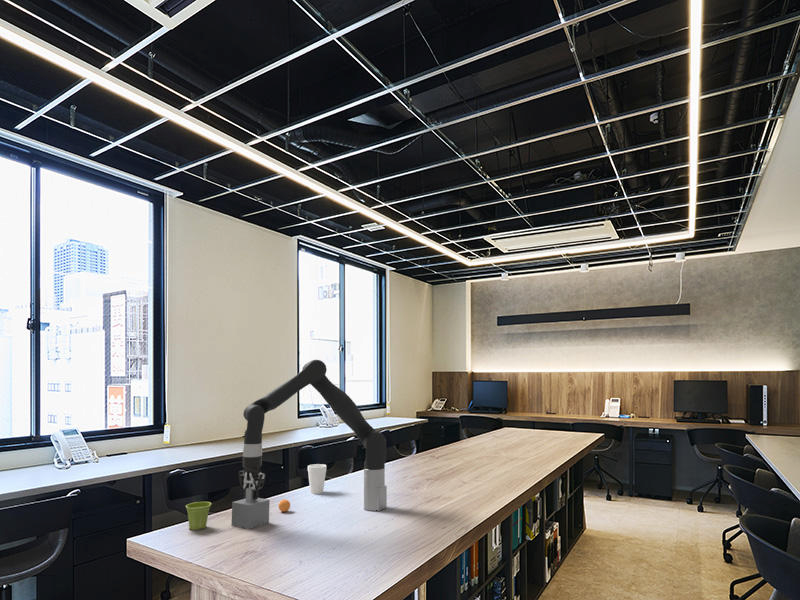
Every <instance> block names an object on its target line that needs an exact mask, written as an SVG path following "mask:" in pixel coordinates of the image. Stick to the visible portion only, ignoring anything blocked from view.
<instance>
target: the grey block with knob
mask: <svg viewBox="0 0 800 600" xmlns="http://www.w3.org/2000/svg"><path fill="white" fill-rule="evenodd" d="M270 500H271V499H266V498H263V497H262V498H261V497H258V499H256V500H253V486H250V487H249V488H246V498H243V499H239V500H235V501H232V502H231V503H232V504H231V525H230V526H232V525H235V526H234V527H237V526H240V527H239V528H241V527H244V528H243V529H246V528H249V529H248V530H251V529H250V528H252V527H255V526H258V527H260V526H262V525H261V524H263V525H265V524H264V523H266V524H268V523H267V522H269V523H270V503H271V501H270ZM259 525H260V526H259ZM255 528H256V527H255ZM252 529H253V528H252Z"/></svg>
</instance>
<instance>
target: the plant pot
mask: <svg viewBox="0 0 800 600" xmlns="http://www.w3.org/2000/svg"><path fill="white" fill-rule="evenodd" d="M211 506H212V503H211V501H195V502H191V503H188V504H185V508H186V511H187V519H188V528H189V530H192V531H198V530H201V529H205V528H206V527H207V523H208V517H209V512H210V509H211Z"/></svg>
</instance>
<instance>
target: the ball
mask: <svg viewBox="0 0 800 600" xmlns="http://www.w3.org/2000/svg"><path fill="white" fill-rule="evenodd" d="M278 509H279V511H281V512H283V513H285V512H288V511H289V510H290V509H291V502H290V501H289V500H288V499H282V500H281V501H279V503H278Z"/></svg>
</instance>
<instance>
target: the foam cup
mask: <svg viewBox="0 0 800 600" xmlns="http://www.w3.org/2000/svg"><path fill="white" fill-rule="evenodd" d="M307 472H308V483H309V493H310V494H311V493H312V495H319V494H320V493H321V494H324V488H325V483H326V482H325V480H326V474H327V464H324V463H322V464H320V463H316V464H315V463H314V464H309V465H307Z"/></svg>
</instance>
